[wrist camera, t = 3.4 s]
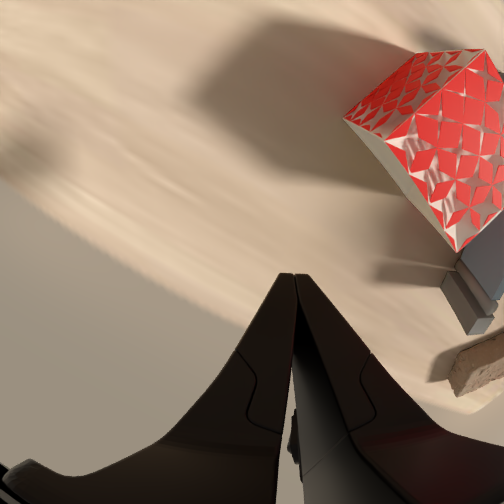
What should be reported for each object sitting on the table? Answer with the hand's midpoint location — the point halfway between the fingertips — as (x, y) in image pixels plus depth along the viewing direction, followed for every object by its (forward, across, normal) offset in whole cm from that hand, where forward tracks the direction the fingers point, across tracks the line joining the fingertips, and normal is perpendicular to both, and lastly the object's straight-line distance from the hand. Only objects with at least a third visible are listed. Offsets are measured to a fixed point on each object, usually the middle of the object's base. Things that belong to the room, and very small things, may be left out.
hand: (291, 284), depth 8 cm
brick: (+12, -36, +22) cm, 44 cm away
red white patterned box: (+13, -10, -4) cm, 17 cm away
